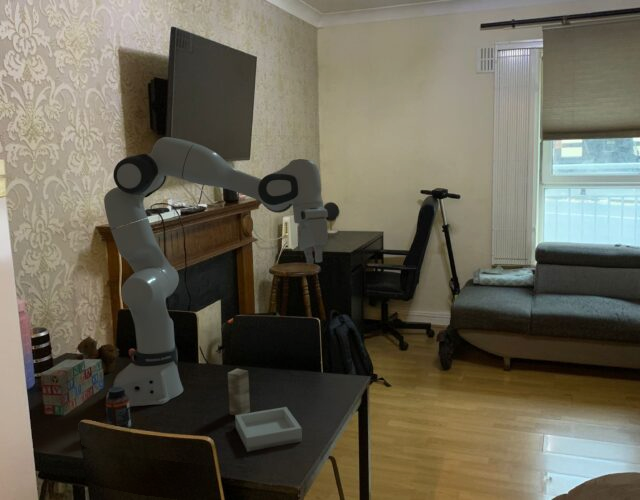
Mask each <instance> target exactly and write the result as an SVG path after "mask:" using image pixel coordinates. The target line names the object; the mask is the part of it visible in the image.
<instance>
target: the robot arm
mask: <svg viewBox="0 0 640 500" xmlns="http://www.w3.org/2000/svg"><path fill="white" fill-rule="evenodd" d="M112 174H113V175H112V176H113V181H114V183H115V186H116V187H114V188H111V189H110V190H109V191H107V193H105V195H104V198H103V203H104V211H105V215H106V219H107V223H108V226H109V229H110V232H111V234H112V237H113V239H114V243H115V245H116V248H117V252H118V254H119V255H120V256H121V257H122V258H123V259H125V261H126V262H127V264H129V266H130V267H131V269H132V270H133V272H134V273H132V274H131V275H130V276H129V277H128V278H127V279H126V281H124V283H123V285H122V286H121V289H120V294H121V295H120V296H121V300H122V302H123V303H124V304H125V306H126V307H128V308H129V312H130V314H131V317H132V320H133V325H134V329H135V339H136V349H135V348H129V350H128V355H129V357H130V363H129V364H128V365H127V366H126V367H124V368H123V369H122V370H121V371H120V372H118V374H117V375H116V376H115V379H114V381H113V386H112V388H113V387H119V386H120V387H124V390H125V394H126V395H128V397H129V403H130V407H139V406H152V405H153V406H154V405H164V404H165V403H167V402H169V401H170V400H171V399H174V398H176V397H179V395H181V394H182V393H183V392H184V386H183V384H182V381H181V379H180V374H179V369H178V359H179V358H178V348H177V345H176V342H175V328H174V321H173V319H172V318H171V317H170V315H169V311H168V309H167V304H166V299H167V298H168V297H170V296H172V295H173V293H174V292H175V291H176V289H177V287H178V285H179V281H180V277H179V273H178V271H177V270H176V268H175V267H174V266H173V265H171V264H170V263H169V261H168V259H167V258H166V256H165V254H164V253H163V251H162V248H161V247H160V245H159V244H158V241H157V240H156V236H155V233H154V231H153V228H152V226H151V223H150V220H149V218H148V215H147V212H146V209H145V205H144V199H145V198H148V197H150V196H151V195H152V194H154V193H155V192H157V191H158V190H160V188H162V186H164V184H165V182H166V180H167V176H170V177H174V178H178V179H180V180H183V181H186V182H189V183H193V184H197V185H202V186H208V187H215V188H219V189H226V190H229V191H232V192H234V193H235V192H236V193H238V194H240V195H243V196H246V197H249V198H252V199H255V200H256V201H258V202H260V203H261V204H262V205H263V206H264V207H265V208H266V209H267V210H268V211H270V212H272V213H275V214H276V213H278V214H279V213H281V214H282V213H284V212H286V211H288V210H289V209H291V208H292V212H293V220H294V221H293V222H294V224H298V226H297V243H298V249H299V250H300V251H303V253H304V255H305V260H306V264H307V265H313V264H314V263H322V262H323V252H324V251H323V249H324V248H323V246H324V245H326V244H328V241H329V238H328V237H329V234H328V233H329V232H328V221H327V218H328V217H329V213H328V210H327V209H326V207H325V206H324V201H323V199H322V183H321V176H320V172H319V168H318V166H317V164H316V163H315V162H314V161H312V160H309V159H302V158H300V159H292V160H290V161H289V163H288V164H286V165H285V166H283V167H282V168H281V169H279V170H277V171H274V172H273V173H269V174H267V175H265V176H264V177H263V178H259V177H257V176H254V175H251V174H249V173H247V172H243V171H240V170H238V169H237V168H234V167H233V166H232V165H230V164H229V163H228V162H227V161H226V160H225V159H224V158H223V157H222V156H221V155H220V154H218V153H217V152H215V151H214V150H211V149H210V148H208V147H206V146H204V145H201V144H198V143H196V142H193V141H189V140H186V139H185V140H184V139H181V138H175V137H168V136H164V137H161V138H159V139H158V140H157V141H155V143H154V145H153V147H152V150H151V152H150V153H149V154H147V153H140V154H136V155H130V156H127V157H124V158H123V159H121V160H119V162H118V163H116V165H115V167H114V169H113V173H112ZM313 250H314V257H313ZM314 261H315V262H314ZM108 396H109V391H108V392H107V393H106V399H107V398H108ZM106 399H105V400H106Z"/></svg>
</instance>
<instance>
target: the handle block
mask: <svg viewBox="0 0 640 500" xmlns="http://www.w3.org/2000/svg"><path fill="white" fill-rule="evenodd" d="M227 384H228V401H229V402H228V403H229V404H228V405H229V415H232V416H235V415H240V414H246V413H251V402H250V401H251V400H250V381H249V370H246V369H241V368H235V369H233V370H231V371H229V372H227Z"/></svg>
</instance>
